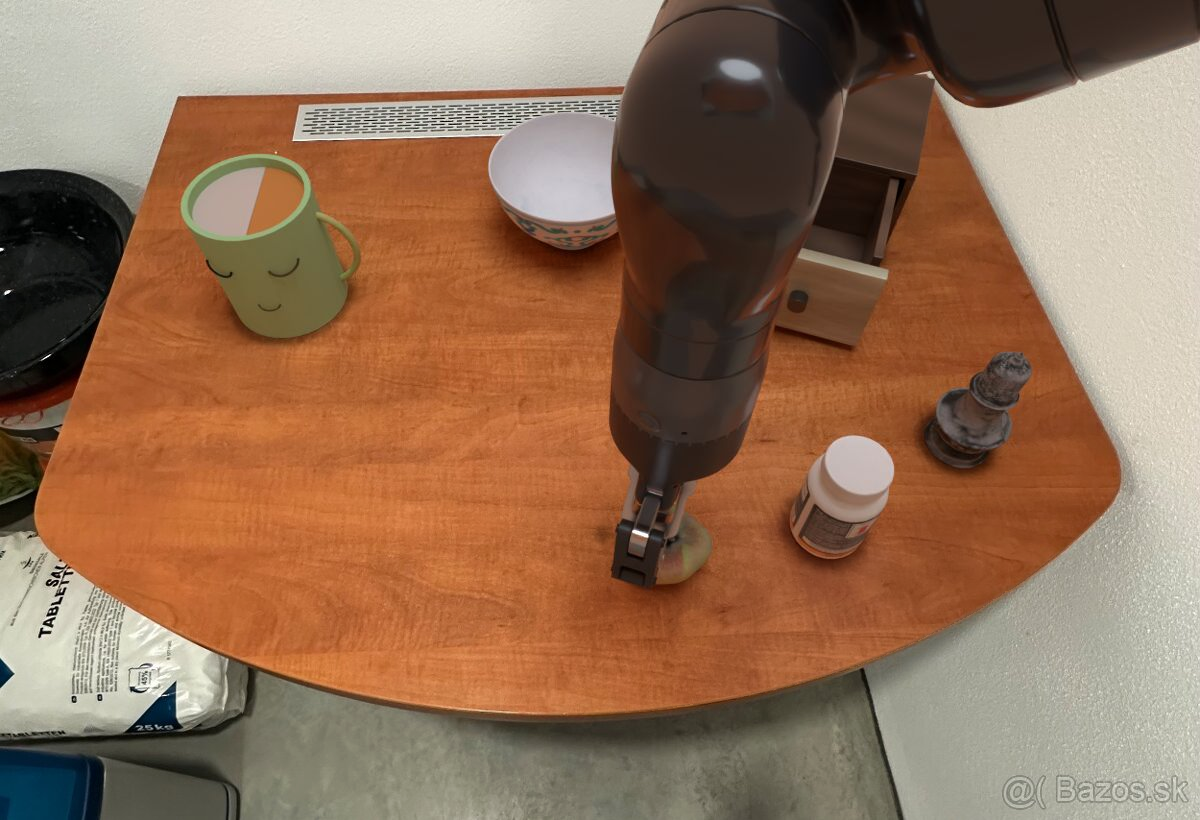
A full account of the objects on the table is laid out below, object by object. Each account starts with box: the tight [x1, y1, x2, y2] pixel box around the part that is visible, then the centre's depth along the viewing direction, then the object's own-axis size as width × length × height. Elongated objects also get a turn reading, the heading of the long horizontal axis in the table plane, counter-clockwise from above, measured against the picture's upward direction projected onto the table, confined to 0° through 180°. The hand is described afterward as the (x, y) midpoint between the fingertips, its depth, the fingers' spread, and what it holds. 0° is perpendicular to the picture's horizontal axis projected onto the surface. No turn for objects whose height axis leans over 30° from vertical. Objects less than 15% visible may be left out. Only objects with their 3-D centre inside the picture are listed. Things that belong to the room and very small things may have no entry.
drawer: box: [775, 162, 900, 348], centre depth 71 cm, size 15×12×9 cm
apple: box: [603, 503, 713, 585], centre depth 58 cm, size 6×8×6 cm
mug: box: [180, 153, 362, 339], centre depth 69 cm, size 13×10×12 cm
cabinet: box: [834, 74, 936, 249], centre depth 78 cm, size 14×13×10 cm
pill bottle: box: [789, 434, 895, 560], centre depth 58 cm, size 6×6×10 cm
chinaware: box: [487, 111, 619, 251], centre depth 76 cm, size 15×15×8 cm
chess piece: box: [923, 350, 1033, 469], centre depth 61 cm, size 6×6×12 cm
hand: (659, 515), depth 54 cm, fingers open, 8 cm apart
